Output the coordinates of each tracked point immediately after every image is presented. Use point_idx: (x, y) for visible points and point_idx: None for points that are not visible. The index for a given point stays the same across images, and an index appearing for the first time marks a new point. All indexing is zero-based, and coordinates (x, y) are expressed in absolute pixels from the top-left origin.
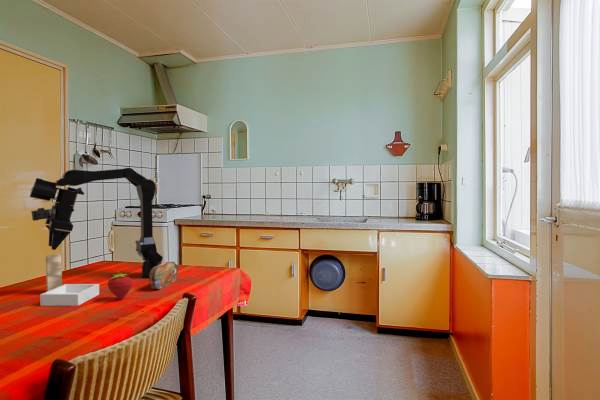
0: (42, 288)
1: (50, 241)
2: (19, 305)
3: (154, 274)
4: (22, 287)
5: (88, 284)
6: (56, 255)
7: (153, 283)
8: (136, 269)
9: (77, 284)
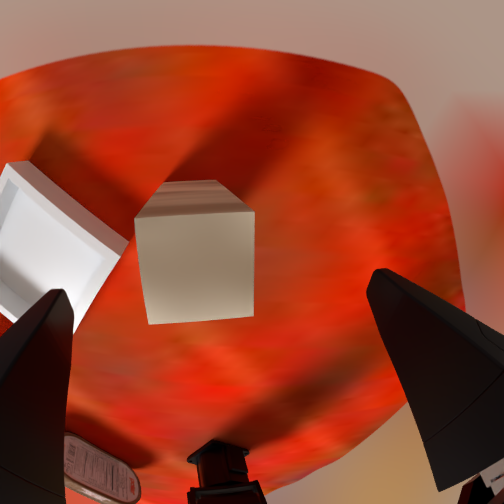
0: (298, 171)
1: (402, 306)
2: (76, 92)
3: None
4: (364, 117)
5: None
6: (170, 292)
7: None
8: (333, 427)
9: (86, 299)
